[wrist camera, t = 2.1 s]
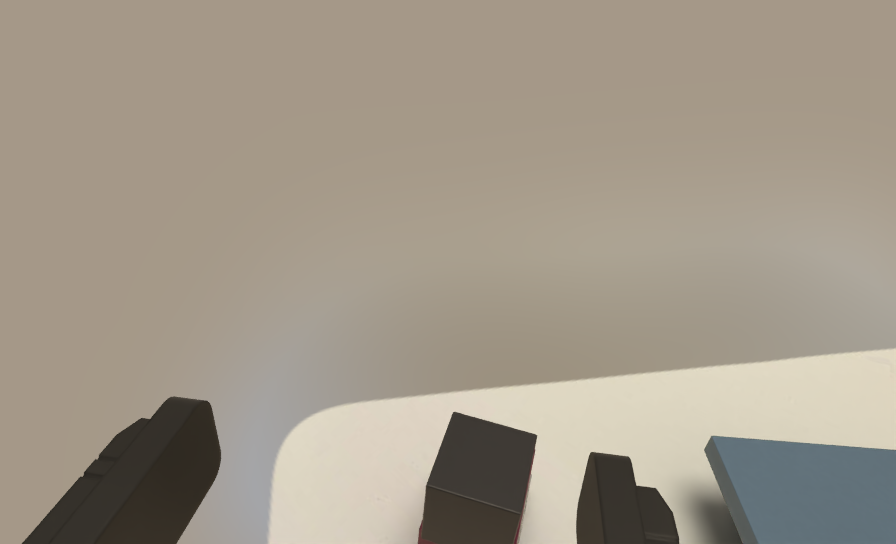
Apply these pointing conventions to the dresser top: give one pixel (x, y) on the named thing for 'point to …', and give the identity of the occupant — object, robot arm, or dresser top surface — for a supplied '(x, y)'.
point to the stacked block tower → (478, 484)
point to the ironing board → (806, 491)
